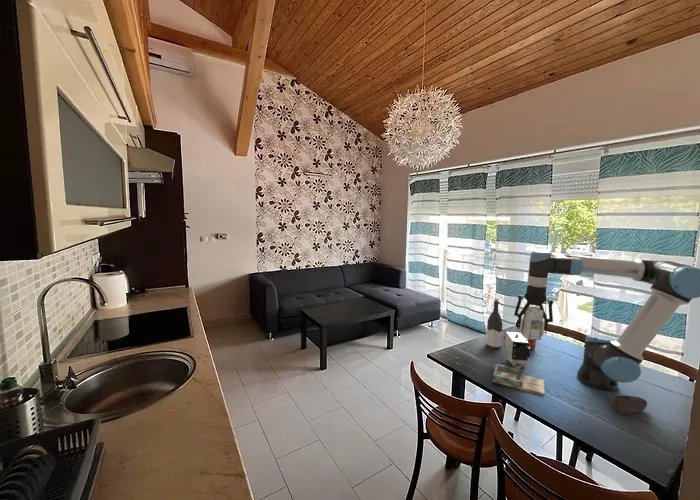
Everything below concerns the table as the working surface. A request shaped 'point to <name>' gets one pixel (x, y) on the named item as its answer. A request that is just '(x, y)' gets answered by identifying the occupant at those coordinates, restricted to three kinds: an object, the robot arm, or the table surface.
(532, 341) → the smoothie
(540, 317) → the syrup box
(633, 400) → the perforated stone tool
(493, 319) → the wine bottle
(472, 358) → the table surface
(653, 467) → the table surface
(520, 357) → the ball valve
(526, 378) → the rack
